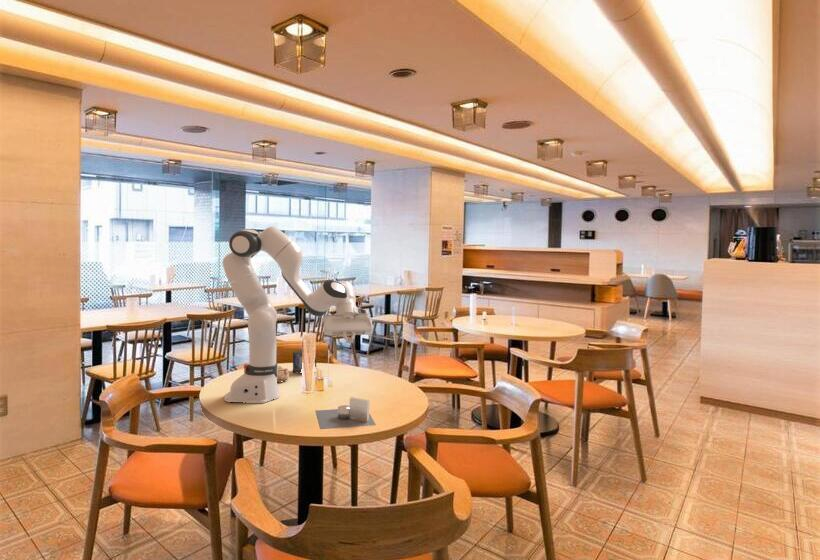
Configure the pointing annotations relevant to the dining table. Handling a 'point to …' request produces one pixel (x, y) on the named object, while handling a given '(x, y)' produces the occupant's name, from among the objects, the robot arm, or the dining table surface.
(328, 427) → the base plate
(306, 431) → the dining table surface
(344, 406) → the grey block with knob
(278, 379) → the trinket box
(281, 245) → the robot arm
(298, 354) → the small box
